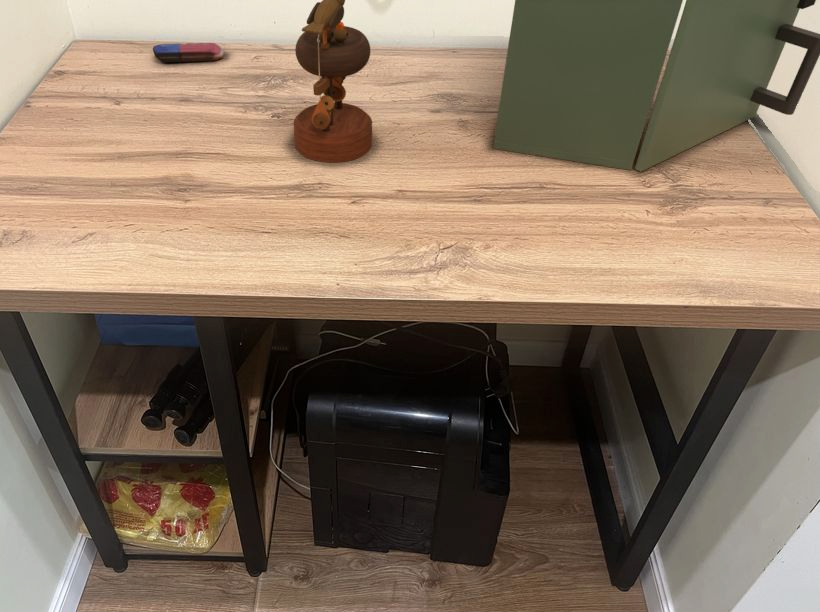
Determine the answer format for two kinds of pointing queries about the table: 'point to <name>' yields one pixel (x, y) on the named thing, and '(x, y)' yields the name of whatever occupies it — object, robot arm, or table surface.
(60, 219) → the table surface
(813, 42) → the door
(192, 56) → the eraser
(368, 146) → the music box
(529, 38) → the cupboard
